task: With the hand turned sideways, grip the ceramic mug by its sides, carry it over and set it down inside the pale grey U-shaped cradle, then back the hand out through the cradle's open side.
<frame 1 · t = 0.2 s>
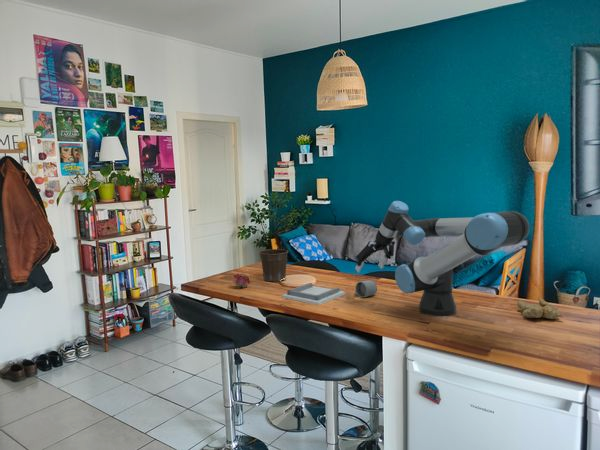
hand: (368, 268, 206), 15 cm above the breakfast bar, tool tilted 35°, fingers open, 13 cm apart
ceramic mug: (364, 296, 216), on the breakfast bar
ginger root: (539, 318, 180), on the breakfast bar
flower: (242, 288, 236), on the breakfast bar
cradle: (313, 295, 218), on the breakfast bar
plant pot: (274, 280, 251), on the breakfast bar
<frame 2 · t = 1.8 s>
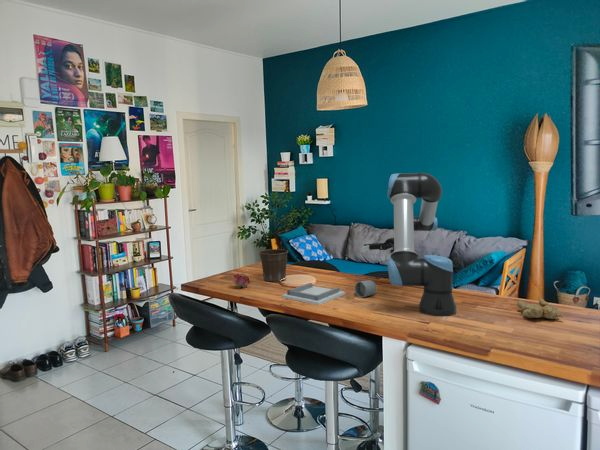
hand: (374, 251, 221), 20 cm above the breakfast bar, tool horizontal, fingers open, 13 cm apart
nothing on the breakfast bar moved.
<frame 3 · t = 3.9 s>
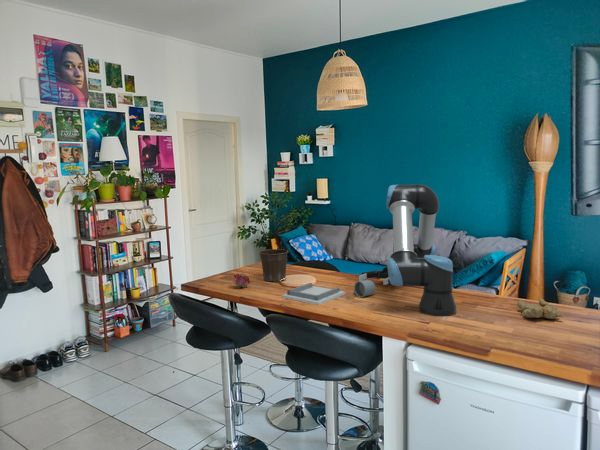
hand: (371, 280, 221), 6 cm above the breakfast bar, tool horizontal, fingers open, 13 cm apart
nothing on the breakfast bar moved.
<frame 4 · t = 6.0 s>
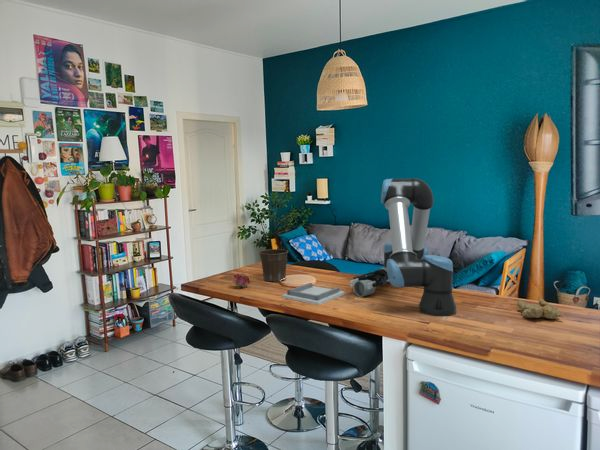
hand: (359, 285, 212), 6 cm above the breakfast bar, tool horizontal, fingers open, 9 cm apart
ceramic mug: (362, 295, 217), on the breakfast bar, touching gripper
everything else where it was.
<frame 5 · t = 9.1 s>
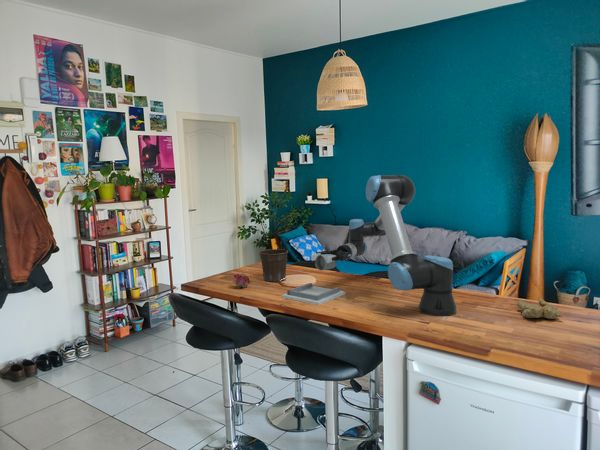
hand: (319, 259, 214), 18 cm above the breakfast bar, tool horizontal, fingers closed on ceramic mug, 8 cm apart
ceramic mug: (324, 269, 219), point 12 cm above the breakfast bar, touching gripper
everything else where it was.
when the fingers open (9 cm above the breakfast bar, at t = 11.8 s): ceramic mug drops 1 cm, resting on cradle.
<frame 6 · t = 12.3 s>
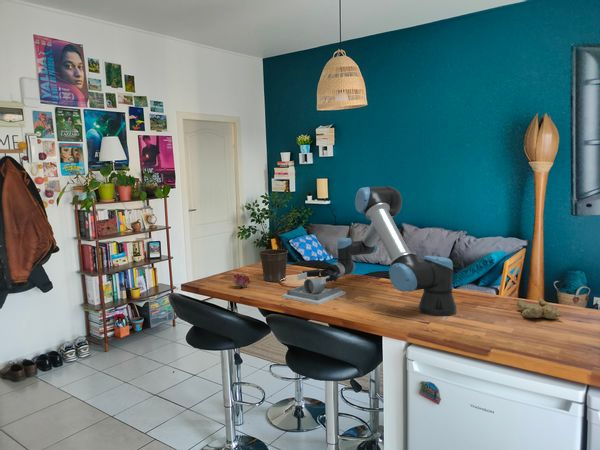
hand: (309, 279, 214), 9 cm above the breakfast bar, tool horizontal, fingers open, 13 cm apart
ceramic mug: (312, 293, 219), point 1 cm above the breakfast bar, touching cradle
everything else where it was.
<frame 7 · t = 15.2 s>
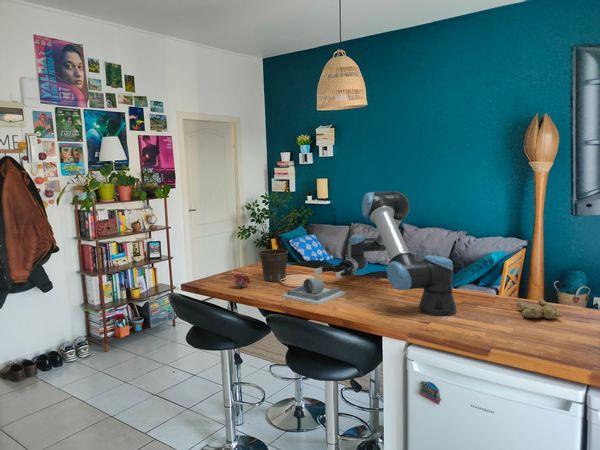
hand: (325, 274, 224), 9 cm above the breakfast bar, tool horizontal, fingers open, 13 cm apart
nothing on the breakfast bar moved.
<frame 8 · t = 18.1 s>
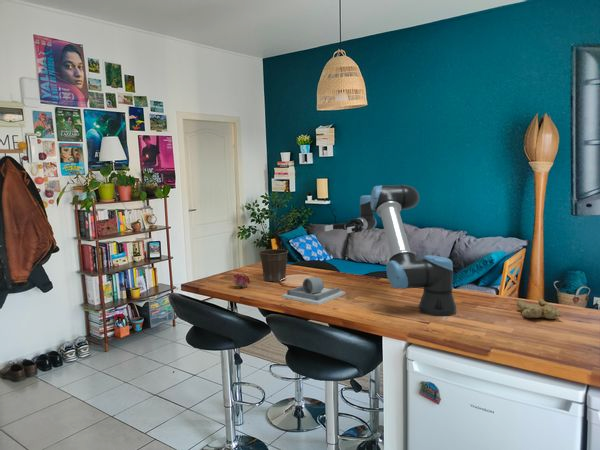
hand: (336, 229, 230), 30 cm above the breakfast bar, tool horizontal, fingers open, 13 cm apart
nothing on the breakfast bar moved.
at the end: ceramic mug inside the target area on the cradle (1.9 cm from its centre), point 1.0 cm above the cradle's base; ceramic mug tilted 2°; the gripper is holding nothing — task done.
